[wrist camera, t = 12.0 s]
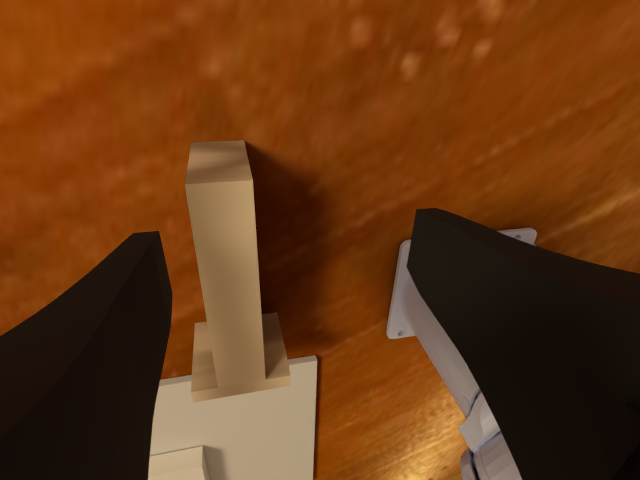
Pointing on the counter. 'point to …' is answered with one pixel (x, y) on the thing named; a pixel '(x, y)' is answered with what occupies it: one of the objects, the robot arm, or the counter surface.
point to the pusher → (230, 279)
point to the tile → (179, 465)
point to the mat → (243, 427)
